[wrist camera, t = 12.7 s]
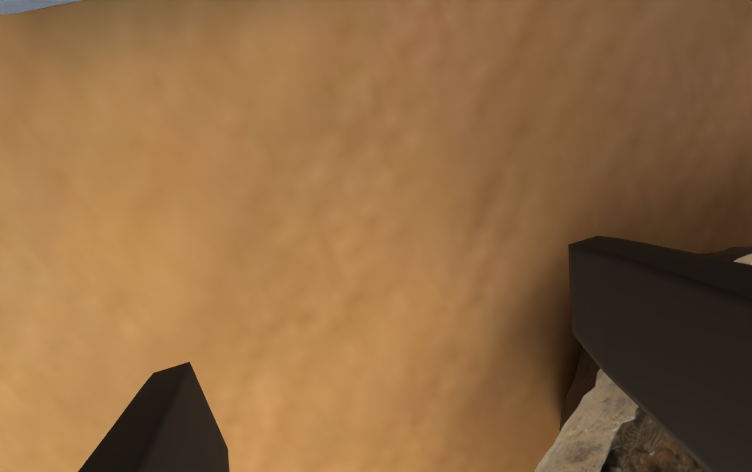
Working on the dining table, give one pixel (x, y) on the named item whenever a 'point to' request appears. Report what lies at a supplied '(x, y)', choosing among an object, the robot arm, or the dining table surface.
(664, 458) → the stone bowl
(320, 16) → the dining table surface
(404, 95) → the dining table surface
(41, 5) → the pen rack
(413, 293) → the dining table surface
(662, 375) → the robot arm
